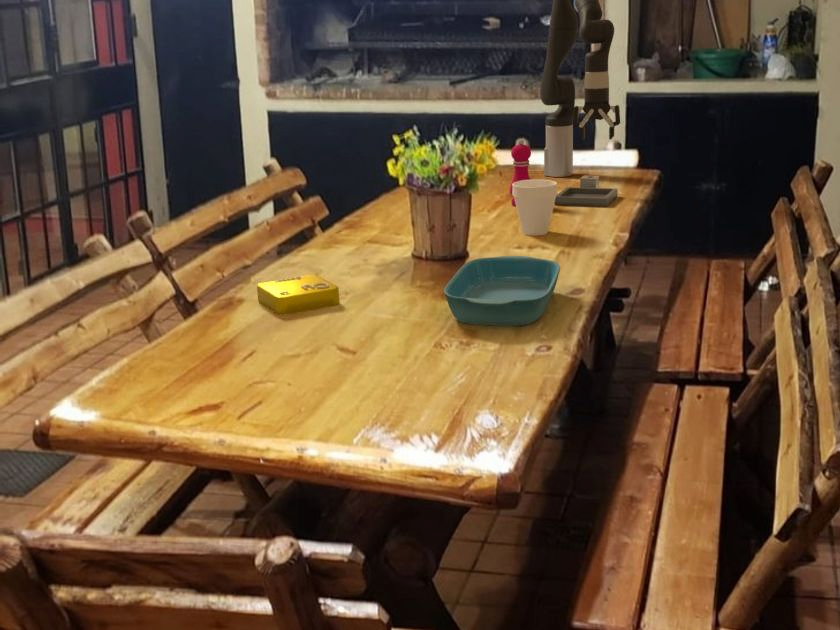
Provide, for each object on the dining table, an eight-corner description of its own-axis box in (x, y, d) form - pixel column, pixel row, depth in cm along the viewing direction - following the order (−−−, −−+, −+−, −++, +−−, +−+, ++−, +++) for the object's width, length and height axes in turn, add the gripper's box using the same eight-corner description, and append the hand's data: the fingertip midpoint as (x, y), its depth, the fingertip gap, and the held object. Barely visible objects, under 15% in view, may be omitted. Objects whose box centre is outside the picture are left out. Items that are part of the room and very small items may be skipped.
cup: (555, 238, 311) (555, 187, 307) (510, 237, 313) (509, 187, 309) (559, 227, 322) (559, 179, 318) (515, 227, 325) (514, 179, 321)
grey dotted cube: (580, 193, 368) (580, 178, 366) (583, 190, 372) (583, 175, 371) (595, 194, 366) (595, 178, 364) (599, 191, 370) (599, 175, 369)
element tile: (316, 291, 271) (314, 271, 269) (342, 306, 258) (341, 285, 256) (255, 301, 264) (253, 281, 263) (279, 317, 251) (278, 296, 250)
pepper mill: (505, 204, 356) (504, 139, 350) (526, 201, 359) (525, 136, 353) (517, 208, 350) (516, 141, 344) (538, 205, 353) (537, 139, 347)
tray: (554, 205, 352) (554, 196, 351) (567, 194, 366) (567, 187, 365) (606, 206, 346) (606, 198, 346) (617, 196, 361) (617, 188, 360)
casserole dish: (543, 335, 231) (543, 301, 229) (435, 331, 237) (433, 298, 235) (566, 286, 266) (566, 255, 264) (470, 283, 271) (469, 253, 269)
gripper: (621, 85, 359) (621, 137, 363) (575, 86, 363) (575, 138, 367) (618, 87, 352) (618, 140, 356) (572, 88, 356) (572, 141, 360)
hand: (596, 139), depth 362 cm, fingers open, 8 cm apart
